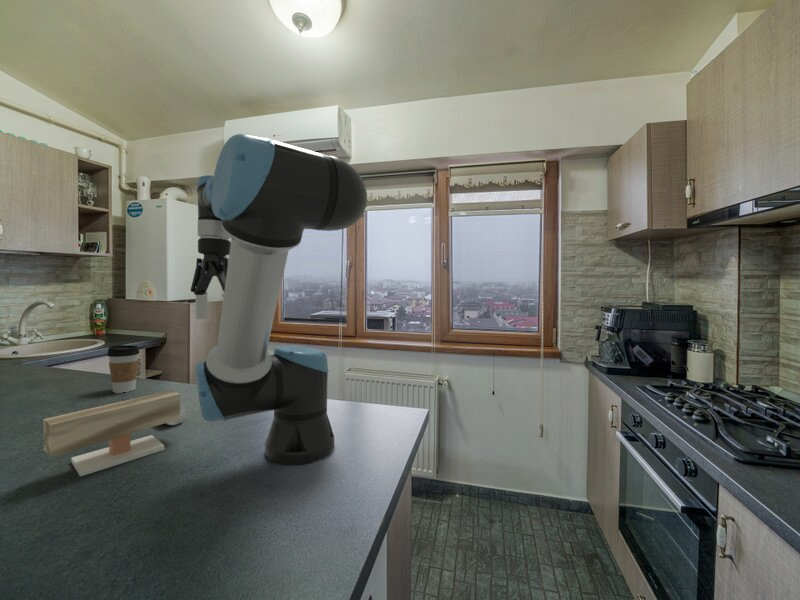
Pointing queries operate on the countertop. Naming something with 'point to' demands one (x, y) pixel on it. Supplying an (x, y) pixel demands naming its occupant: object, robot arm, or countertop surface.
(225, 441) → the countertop surface
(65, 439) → the beech bar
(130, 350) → the coffee cup
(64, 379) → the countertop surface
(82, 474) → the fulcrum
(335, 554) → the countertop surface
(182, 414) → the soda can
